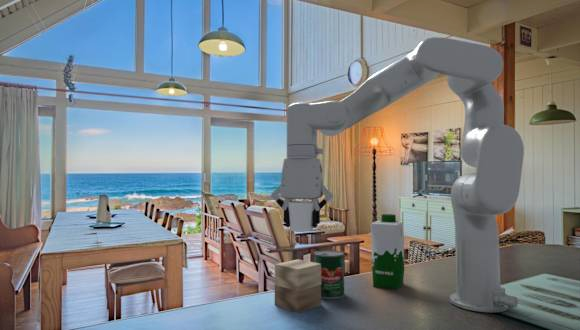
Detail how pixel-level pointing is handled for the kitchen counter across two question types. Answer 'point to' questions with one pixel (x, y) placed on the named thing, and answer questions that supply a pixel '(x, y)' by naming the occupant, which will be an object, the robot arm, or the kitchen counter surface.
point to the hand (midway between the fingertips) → (301, 225)
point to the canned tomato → (331, 273)
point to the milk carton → (387, 252)
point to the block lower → (298, 298)
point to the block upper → (298, 274)
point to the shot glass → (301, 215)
